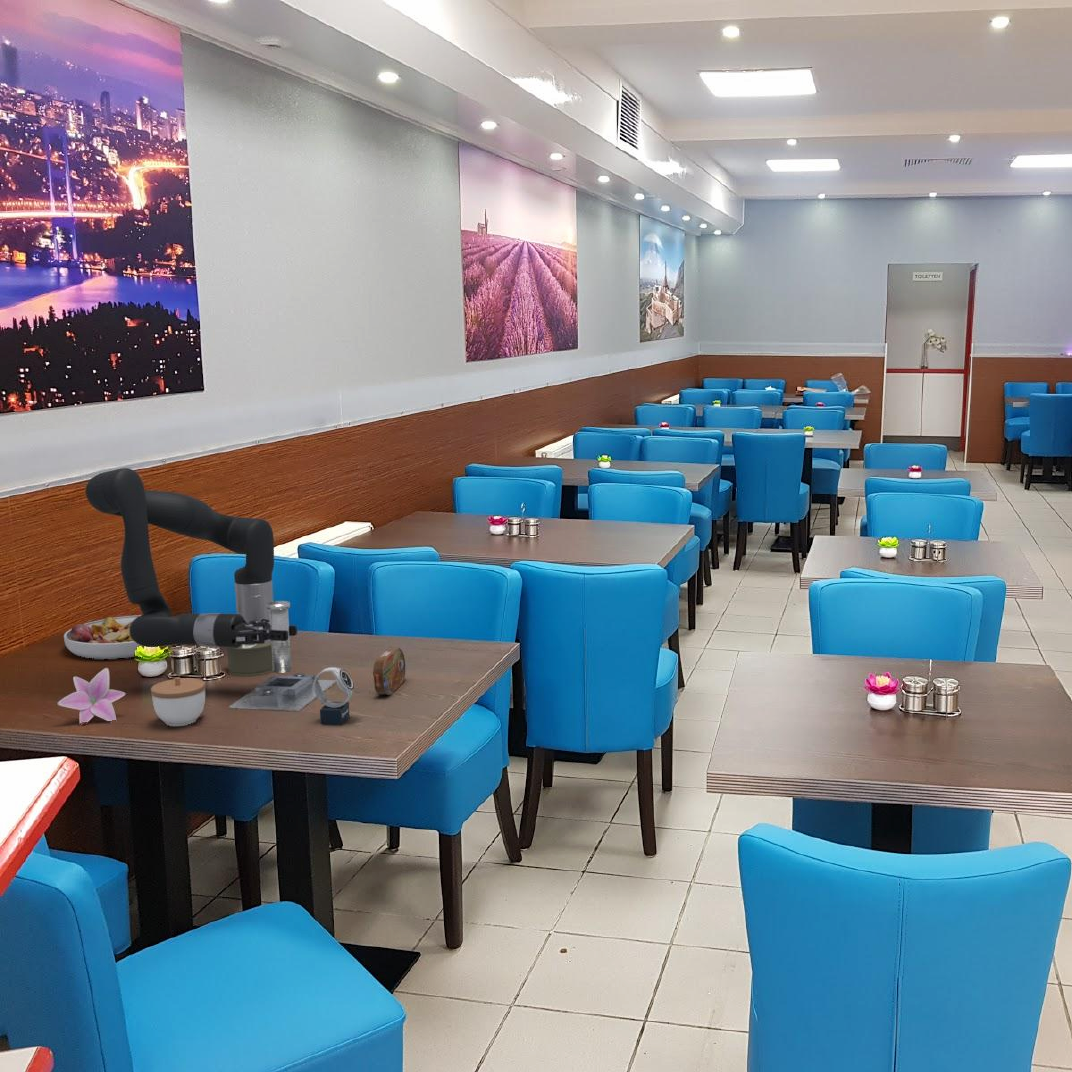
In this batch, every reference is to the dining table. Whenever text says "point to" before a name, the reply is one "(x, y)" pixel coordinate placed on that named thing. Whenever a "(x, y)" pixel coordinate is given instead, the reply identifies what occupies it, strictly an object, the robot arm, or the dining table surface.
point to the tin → (389, 671)
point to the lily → (93, 697)
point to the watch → (334, 710)
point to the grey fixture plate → (283, 693)
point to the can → (250, 659)
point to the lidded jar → (179, 700)
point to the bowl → (102, 638)
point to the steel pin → (280, 648)
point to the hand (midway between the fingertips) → (291, 633)
